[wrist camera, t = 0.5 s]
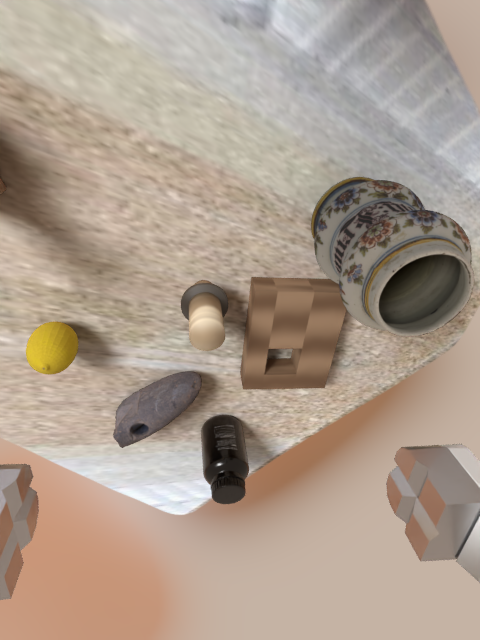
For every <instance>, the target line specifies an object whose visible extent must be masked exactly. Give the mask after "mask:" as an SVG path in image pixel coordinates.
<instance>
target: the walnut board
mask: <svg viewBox="0 0 480 640" xmlns="http://www.w3.org/2000/svg"><path fill="white" fill-rule="evenodd" d="M346 310H347V309H346V308H345V306H344V304H343V301H342V299H341V295H340V290H339V284H338V283H336V282H334V281H333V280H331V279H303V278H262V277H252V279H251V287H250V295H249V304H248V312H247V321H246V329H245V338H244V346H243V354H242V363H241V371H240V374H241V380H242V385H243V389H293V388H325V384H326V381H327V377H328V374H329V370H330V367H331V363H332V359H333V356H334V352H335V349H336V345H337V342H338V338H339V335H340V331H341V328H342V324H343V320H344V317H345V313H346ZM268 349H293V350H292V355H291V358H284V359H267V355H268Z"/></svg>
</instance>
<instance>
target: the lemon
mask: <svg viewBox="0 0 480 640" xmlns="http://www.w3.org/2000/svg"><path fill="white" fill-rule="evenodd" d="M77 351H78V338H77V335H76V333H75V331H74V330H73V329H72V328H71V327H70V326H68V325H67V324H64V323H61V322H49V323H45V324H43V325H41V326H39V327H38V328H37V329H36V330H35V331H34V332H33V333H32V335H31V336H30V338H29V340H28V343H27V348H26V356H27V360H28V362H29V364H30V366H31V367H32V368H33V369H34V370H36V371H38V372H40V373H43V374H56V373H59V372H61V371H63V370H65V369H66V368H67V367H68V366H69V365H70V364H71V363H72V362H73V360H74V358H75V356H76V354H77Z"/></svg>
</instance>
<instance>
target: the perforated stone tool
mask: <svg viewBox="0 0 480 640" xmlns="http://www.w3.org/2000/svg"><path fill="white" fill-rule="evenodd" d="M201 382H202V381H201V376H200V375H199V374H197V373H195V372H181V373H177V374H173V375H170V376H167V377H165V378H163V379H161V380H159V381H157V382H154V383H153V384H151V385H149V386H147V387H145V388H142V389H141V390H139V391H138V392H135V393H133V394H132V395H131V396H130V397H128V398H126V399H125V400H123V402H122V403H121V404H120V405H119V407H118V409H117V411H116V417H115V418H116V425H115V430H114V434H113V436H114V439H115V440H116V441H117V442H118V444H119V446H120V447H122V448H123V447H125V446H128V445H131V444H133V443H135V442H138V441H140V440H142V439H144V438H146V437H148V436H150V435H152V434H153V433H155V432H157V431H158V430H160V429H161V428H163V427H164V426H166V425H167V424H169V423H170V422H171V421H172V420H174V419H175V418H176V417H177V416H179V415H180V414H181V413H182V412H183V411H184V410H186V409H187V408H188V406H189V405H190V404H191V403H192V402H193V401H194V400H195V398H196V396H197V395H198V393H199V390H200V388H201Z"/></svg>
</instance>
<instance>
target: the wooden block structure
mask: <svg viewBox="0 0 480 640" xmlns="http://www.w3.org/2000/svg"><path fill="white" fill-rule="evenodd" d="M5 190H6V186H5V185H4V183H3V181H2V180H1V178H0V194H2V193H3V192H4V191H5Z"/></svg>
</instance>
